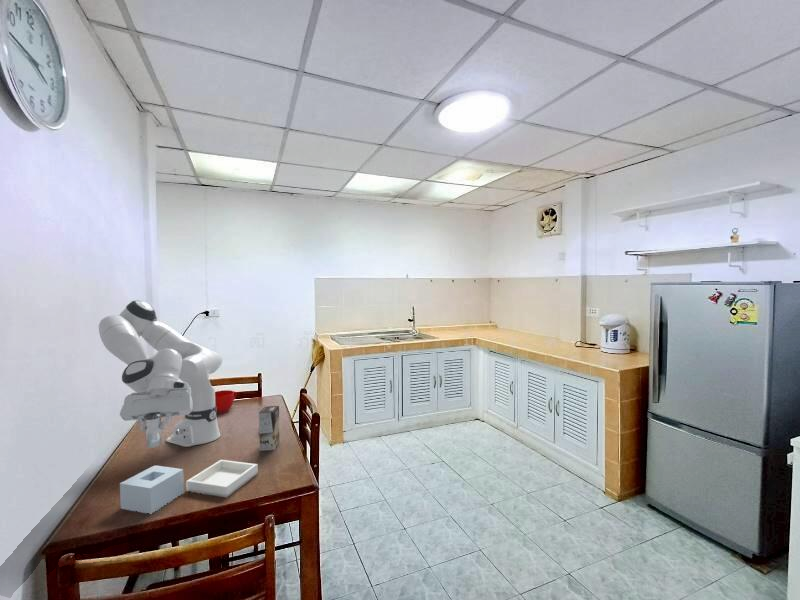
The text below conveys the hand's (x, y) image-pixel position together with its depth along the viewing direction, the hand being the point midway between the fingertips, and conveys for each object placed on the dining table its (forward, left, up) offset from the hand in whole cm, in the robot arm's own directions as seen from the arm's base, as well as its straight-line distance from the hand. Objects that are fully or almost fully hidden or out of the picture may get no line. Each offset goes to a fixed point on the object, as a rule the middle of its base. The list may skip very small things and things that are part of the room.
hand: (153, 429), depth 119 cm
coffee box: (+11, +45, -24) cm, 52 cm away
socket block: (-1, 0, -23) cm, 23 cm away
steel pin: (0, +1, -5) cm, 5 cm away
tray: (+13, +15, -23) cm, 31 cm away
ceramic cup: (-43, +81, -24) cm, 95 cm away
